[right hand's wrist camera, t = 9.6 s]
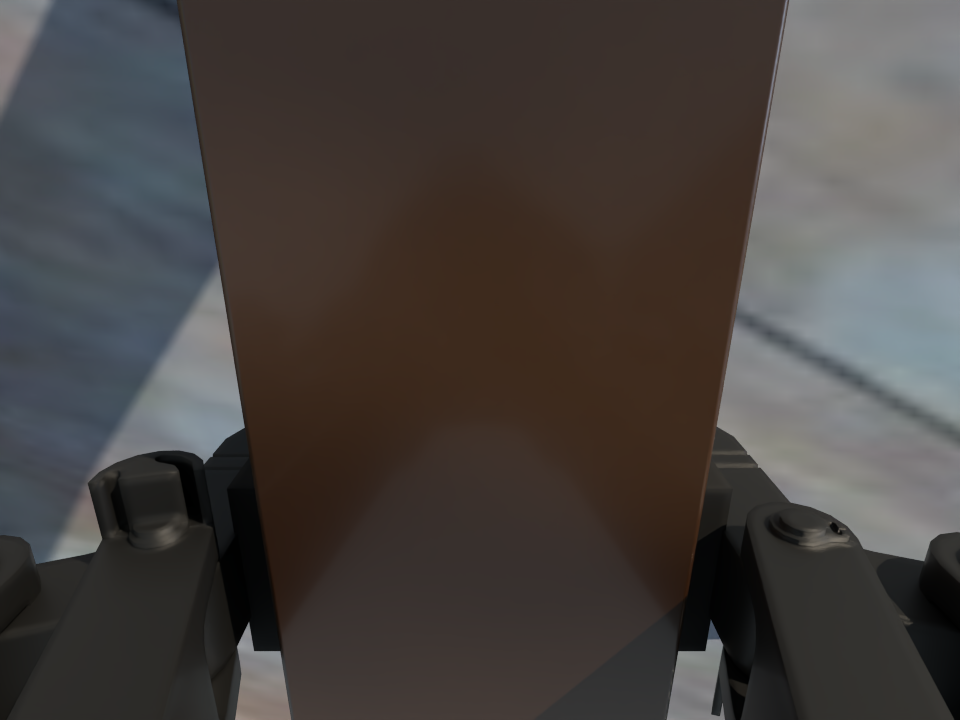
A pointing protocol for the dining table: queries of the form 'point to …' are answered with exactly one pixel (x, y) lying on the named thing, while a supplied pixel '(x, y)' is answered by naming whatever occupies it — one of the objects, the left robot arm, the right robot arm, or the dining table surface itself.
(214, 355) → the dining table surface
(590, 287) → the plank
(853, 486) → the dining table surface
